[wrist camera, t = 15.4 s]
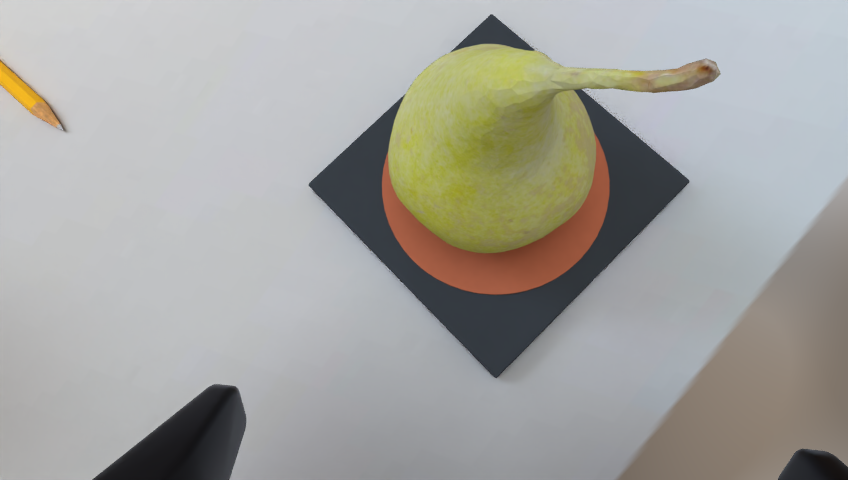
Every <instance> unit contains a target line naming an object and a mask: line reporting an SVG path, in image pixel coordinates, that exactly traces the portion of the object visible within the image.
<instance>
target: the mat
mask: <svg viewBox="0 0 848 480" xmlns="http://www.w3.org/2000/svg"><path fill="white" fill-rule="evenodd" d="M480 44H499V45H505V46H509V47H512V48H516V49H522V50H528V51H535V50H534V49H533V48H531V47H530V46H529V45H528V44H527V43H526V42H524V41H523V40H522V39H521V38H520V37H518V36H517V35H516V34H515V33H514V32H512V31H511V30H510V29H509V28H508V27H507V26H505V25H504V24H503V23H502V22H501V21H499V20H498V19H497V18H496V17H495V16H493V15H492V14H491V15H490V16H489V17H488V18H487V19H486V20H485V21H483V22H482V23H481V24H480V25H479V26H478V27H477V28H476V29H475V30H474V31H473V32H472V33H471V34H469V35H468V36H467V37H466V38H465V39H464V40H463V41H462V42H461V43H460V44H459V45H458V46H457V47H455V48H454V49H453V50H452V51H451V52H453V51H456V50H459V49H462V48H465V47H470V46H475V45H480ZM451 52H450V53H451ZM574 91H575V93H576V94H577V95H578V97H579V98H580V100H581V101H582V103H583V105H584V106H585V109H586V111H587V113H588V116H589V118H590V121H591V124H592V127H593V131H594V136H595V141H596V162H595V169H594V176H593V181H592V185H591V188H590V191H589V193H588V195H587V197H586V199H585V201H584V203H583V204H582V206H581V207H580V209H579V210H578V211H577V212H576V214H574V215H573V216H572V217H571V218H570V219H569V220H567V221H566V222H565V223H563V224H562V225H560V226H559V227H557V228H556V229H555V230H553V231H552V232H550V233H549V234H547V235H546V236H544V237H543V238H541V239H539V240H537V241H534V242H532V243H530V244H528V245H525V246H522V247H520V248H517V249H513V250H509V251H505V252H498V253H477V252H471V251H466V250H463V249H460V248H457V247H454V246H452V245H450V244H448V243H446V242H445V241H443V240H442V239H440V238H439V237H438V236H436V235H435V234H434V233H432V232H431V231H430V230H429V229H428V228H426V227H425V226H424V225H423V224H422V223H420V222H419V221H418V220H417V219H416V218H415V216H414V215H413V214H412V213H411V212H410V211H409V210H408V209H407V208H406V207H405V206H404V205H403V203H402V202H401V201H400V200H399V198H398V197H397V195H396V193H395V190H394V188H393V186H392V183H391V179H390V175H389V167H388V150H389V142H390V137H391V133H392V129H393V124H394V120H395V118H396V115H397V112H398V110H399V107H400V105H401V102H402V100H403V98H404V97H405V95H406V94H405V95H404V96H403V97H402V98H401V99H399V100H398V101H397V102H396V103H395V104H394V105H393V106H392V107H391V108H390V109H389V110H388V111H387V112H385V113H384V114H383V115H382V116H381V117H380V118H379V119H378V120H377V121H376V122H375V123H374V124H373V125H371V126H370V127H369V128H368V129H367V130H366V131H365V132H364V133H363V134H362V135H361V136H360V137H359V138H357V139H356V140H355V141H354V142H353V143H352V144H351V145H350V146H349V147H348V148H347V149H346V150H345V151H343V152H342V153H341V154H340V155H339V156H338V157H337V158H336V159H335V160H334V161H333V162H332V163H331V164H329V165H328V166H327V167H326V168H325V169H324V170H323V171H322V172H321V173H320V174H319V175H318V176H317V177H315V178H314V179H313V180H312V181H311V182H310V183H309V186H310V187H311V188H312V189H313V190H314V191H315V192H316V194H317V195H318V196H319V197H320V198H321V199H322V200H323V201H324V202H325V203H326V204H327V205H328V206H329V207H330V208H331V209H332V210H333V211H334V212H335V213H336V214H337V215H338V216H339V217H340V218H341V219H342V220H343V221H344V222H345V223H346V224H347V226H348V227H349V228H350V229H351V230H352V231H353V232H354V233H355V234H356V235H357V236H358V237H359V238H360V239H361V240H362V241H363V242H364V243H365V244H366V245H367V246H368V247H369V248H370V249H371V250H372V251H373V252H374V253H375V254H376V255H377V256H378V258H379V259H380V260H381V261H382V262H383V263H384V264H385V265H386V266H387V267H388V268H389V269H390V270H391V271H392V272H393V273H394V274H395V275H396V276H397V277H398V278H399V279H400V280H401V281H402V282H403V283H404V284H405V285H406V286H407V287H408V289H409V290H410V291H411V292H412V293H413V294H414V295H415V296H416V297H417V298H418V299H419V300H420V301H421V302H422V303H423V304H424V305H425V306H426V307H427V308H428V309H429V310H430V311H431V312H432V313H433V314H434V315H435V316H436V317H437V318H438V319H439V321H440V322H441V323H442V324H443V325H444V326H445V327H446V328H447V329H448V330H449V331H450V332H451V333H452V334H453V335H454V336H455V337H456V338H457V339H458V340H459V341H460V342H461V343H462V344H463V345H464V346H465V347H466V348H467V349H468V350H469V351H470V353H471V354H472V355H473V356H474V357H475V358H476V359H477V360H478V361H479V362H480V363H481V364H482V365H483V366H484V367H485V368H486V369H487V370H488V371H489V372H490V373H491V374H492V375H493V376H494V377H495V378H497V377H498V376H499V375H500V374H501V373H502V372H503V371H504V370H505V369H506V368H507V367H508V366H509V365H510V364H511V363H512V362H513V361H514V360H515V359H516V358H517V357H518V356H519V355H520V354H521V353H522V352H523V351H524V350H525V349H526V348H527V347H528V346H529V345H530V344H531V343H532V342H533V341H534V340H535V338H536V337H537V336H538V335H539V334H540V333H541V332H542V331H543V330H544V329H545V328H546V327H547V326H548V325H549V324H550V323H551V322H552V321H553V320H554V319H555V318H556V317H557V316H558V315H559V314H560V313H561V312H562V311H563V310H564V309H565V308H566V307H567V306H568V305H569V304H570V303H571V302H572V301H573V300H574V299H575V298H576V297H577V296H578V295H579V294H580V293H581V292H582V291H583V290H584V289H585V288H586V287H587V286H588V285H589V284H590V283H591V282H592V281H593V279H594V278H595V277H596V276H597V275H598V274H599V273H600V272H601V271H602V270H603V269H604V268H605V267H606V266H607V265H608V264H609V263H610V262H611V261H612V260H613V259H614V258H615V257H616V256H617V255H618V254H619V253H620V252H621V251H622V250H623V249H624V248H625V247H626V246H627V245H628V244H629V243H630V242H631V241H632V240H633V239H634V238H635V237H636V236H637V235H638V234H639V233H640V232H641V231H642V230H643V229H644V228H645V227H646V226H647V225H648V224H649V223H650V221H651V220H652V219H653V218H654V217H655V216H656V215H657V214H658V213H659V212H660V211H661V210H662V209H663V208H664V207H665V206H666V205H667V204H668V203H669V202H670V201H671V200H672V199H673V198H674V197H675V196H676V195H677V194H678V193H679V192H680V191H681V190H682V189H683V188H684V187H685V186H686V185H687V184H688V183H689V180H688V179H687V178H686V177H685V176H683V175H682V174H681V173H680V172H679V171H678V170H676V169H675V168H674V167H673V166H672V165H670V164H669V163H668V162H667V161H666V160H664V159H663V158H662V157H661V156H660V155H659V154H657V153H656V152H655V151H654V150H653V149H651V148H650V147H649V146H648V145H647V144H645V143H644V142H643V141H642V140H641V139H640V138H638V137H637V136H636V135H635V134H634V133H632V132H631V131H630V130H629V129H628V128H626V127H625V126H624V125H623V124H622V123H621V122H619V121H618V120H617V119H616V118H615V117H613V116H612V115H611V114H610V113H609V112H607V111H606V110H605V109H604V108H603V107H602V106H600V105H599V104H598V103H597V102H596V101H594V100H593V99H592V98H591V97H590V96H588V95H587V94H586V93H585V92H584V91H583V90H581V89H578V90H574Z"/></svg>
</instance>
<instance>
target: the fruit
mask: <svg viewBox="0 0 848 480" xmlns="http://www.w3.org/2000/svg"><path fill="white" fill-rule="evenodd" d="M719 75H720V71H719V69H718V67H717V64H716V62H714V61H711V60H709V59H703V60H699V61H696V62H692V63H689V64H686V65H684V66H682V67H680V68H678V69H670V70H657V71H627V70H618V69H594V68H573V67H570V68H569V67H563V66H562V65H560V64H558V63H556V62H553V61H552V60H551V59H550V58H549V57H548V56H547V55H545V54H543V53H541V52H539V51H528V50H522V49H516V48H512V47H509V46H505V45H499V44H480V45H475V46H470V47H465V48H462V49H459V50H456V51H453V52H451V53H448V54H446V55H444V56H442V57H440V58H439V59H437V60H436V61H434V62H433V63H432V64H431V65H429V66H428V67H427V68H426V69H425V70H424V71H423V72H422V73H421V74H420V75H418V77H417V78H416V79H415V80H414V82H413V83H412V85H411V86H410V88H409V89H408V91H407V93H406V95H405V97H404V98H403V100H402V102H401V105H400V107H399V110H398V112H397V115H396V118H395V120H394V124H393V129H392V133H391V137H390V142H389V150H388V167H389V175H390V179H391V183H392V186H393V188H394V190H395V193H396V195H397V197H398V198H399V200H400V201H401V202H402V203H403V205H404V206H405V207H406V208H407V209H408V210H409V211H410V212H411V213H412V214H413V215H414V216H415V218H416V219H417V220H418V221H419V222H420V223H422V224H423V225H424V226H425V227H426V228H428V229H429V230H430V231H431V232H432V233H434V234H435V235H436V236H438V237H439V238H440V239H442V240H443V241H445V242H446V243H448V244H450V245H452V246H454V247H457V248H460V249H463V250H466V251H471V252H477V253H498V252H505V251H509V250H513V249H517V248H520V247H522V246H525V245H528V244H530V243H532V242H534V241H537V240H539V239H541V238H543V237H544V236H546V235H547V234H549V233H550V232H552V231H553V230H555V229H556V228H557V227H559V226H560V225H562V224H563V223H565V222H566V221H567V220H569V219H570V218H571V217H572V216H573V215H574V214H576V212H577V211H578V210H579V209H580V207H581V206H582V204H583V203H584V201H585V199H586V197H587V195H588V193H589V191H590V188H591V185H592V181H593V176H594V169H595V162H596V141H595V136H594V131H593V127H592V124H591V121H590V118H589V116H588V113H587V111H586V109H585V106H584V105H583V103H582V101H581V100H580V98H579V97H578V95H577V94H576V93H575V91H574V90H578V89H584V88H590V89H609V88H614V89H621V90H629V91H637V92H652V93H657V92H667V91H682V90H689V89H694V88H698V87H700V86H702V85H705V84H707V83H710V82H713V81H714V80H715V79H716V78H717V77H718V76H719Z"/></svg>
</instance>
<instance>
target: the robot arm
mask: <svg viewBox="0 0 848 480" xmlns="http://www.w3.org/2000/svg"><path fill="white" fill-rule="evenodd" d="M245 427H246V414H245V411H244V407H243V403H242V400H241V396H240V392H239V390H238V389H237V388H236V387H235V386H230V385H220V384H215V385H212V386H210V387H208V388H207V389H206V390H204V391H203V392H202V393H201V394H199V395H198V396H197V397H196V398H194V399H193V400H192V401H191V402H189V403H188V404H187V405H186V406H184V407H183V408H182V409H181V410H179V411H178V412H177V413H175V414H174V415H173V416H172V417H170V418H169V419H168V420H167V421H165V422H164V423H163V424H162V425H160V426H159V427H158V428H157V429H155V430H154V431H153V432H152V433H150V434H149V435H148V436H147V437H145V438H144V439H143V440H142V441H140V442H139V443H138V444H137V445H135V446H134V447H133V448H132V449H130V450H129V451H128V452H126V453H125V454H124V455H123V456H121V457H120V458H119V459H118V460H116V461H115V462H114V463H113V464H111V465H110V466H109V467H108V468H106V469H105V470H104V471H103V472H101V473H100V474H99V475H98V476H96V477H95V478H94V479H93V480H229V479H230V476H231V473H232V469H233V466H234V463H235V460H236V457H237V454H238V450H239V447H240V444H241V441H242V438H243V435H244V431H245ZM778 480H848V467H847V466H846V465H845V464H844V463H842V461H840V460H839V459H838V458H837V457H836V456H834V455H833V454H831V453H829V452H825V451H818V450H810V449H800V450H798V451H796V452H795V453H794V455H793V456H792V458H791V459H790V461H789V463H788V464H787V466H786V467H785V468H784V470H783V471H782V473H781V474H780V476H779V478H778Z"/></svg>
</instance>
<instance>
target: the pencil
mask: <svg viewBox="0 0 848 480" xmlns="http://www.w3.org/2000/svg"><path fill="white" fill-rule="evenodd" d="M0 85H1V86H2V87H3V88H5V89H6V90H7V91H8V92H9V93H10V94H11V95H12V96H13V97H14V98H15V99H17V100H18V101H19V102H20V103H21V104H22V105H23V106H24V107H25V108H26V109H27V110H29V111H30V112H31V113H32V114H33V115H34V116H36V117H38V118H40V119H42V120H44V121H45V122H47V123H49V124H51V125H53V126H55V127H56V128H59V129H61V130H63V128H62V126H61V124H60V123H59V121H58V120H57V118H56V117H55V115H54V114H53V112H52V111H51V109H50V108H49V106H48V105H47V103H46V102H45V101H44V100H43V99H42V98H40V97H39V96H38V95H37V94H36V93H35V92H34V91H33V90H32V89H31V88H29V87H28V86H27V85H26V84H25V83H24V82H23V81H22V80H21V79H19V78H18V77H17V76H16V75H15V74H14V73H13V72H12V71H11V70H9V69H8V68H7V67H6V66H5V65H4V64H3V63H2V62H1V61H0Z"/></svg>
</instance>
